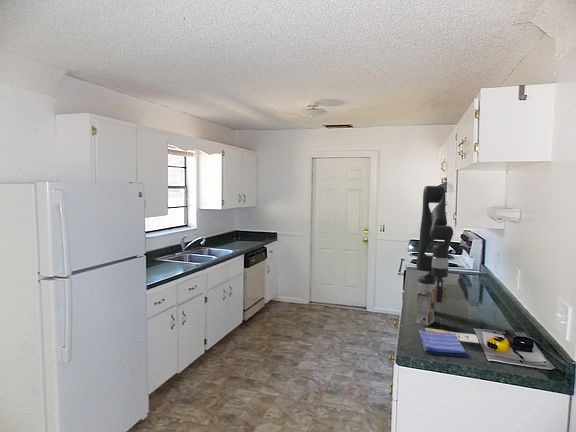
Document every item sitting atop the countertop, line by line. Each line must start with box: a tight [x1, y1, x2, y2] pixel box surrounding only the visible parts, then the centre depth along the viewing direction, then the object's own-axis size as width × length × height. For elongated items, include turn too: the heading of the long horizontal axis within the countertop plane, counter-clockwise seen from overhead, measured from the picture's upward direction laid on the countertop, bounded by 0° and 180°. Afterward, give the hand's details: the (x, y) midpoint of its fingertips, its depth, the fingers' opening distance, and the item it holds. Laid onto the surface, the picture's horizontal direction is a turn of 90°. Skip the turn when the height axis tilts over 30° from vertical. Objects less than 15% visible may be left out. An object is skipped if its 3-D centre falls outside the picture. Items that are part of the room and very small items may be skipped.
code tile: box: [449, 331, 480, 344], centre depth 186 cm, size 12×12×1 cm
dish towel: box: [418, 329, 468, 357], centre depth 175 cm, size 17×24×3 cm
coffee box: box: [416, 291, 435, 327], centre depth 207 cm, size 9×6×16 cm
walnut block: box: [432, 286, 447, 305], centre depth 190 cm, size 6×6×7 cm
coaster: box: [424, 327, 450, 334], centre depth 191 cm, size 10×11×1 cm
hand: (438, 300), depth 190 cm, fingers closed on walnut block, 6 cm apart
